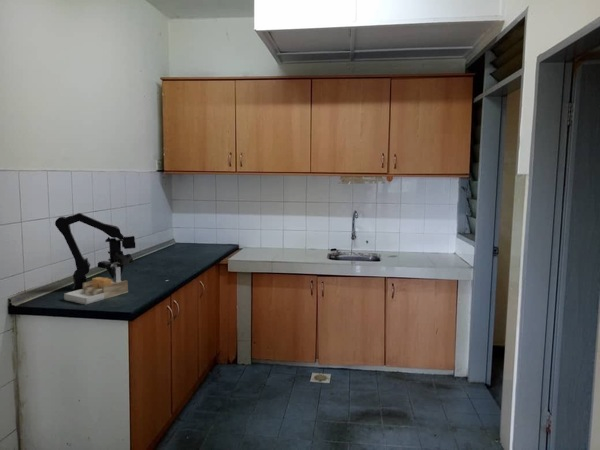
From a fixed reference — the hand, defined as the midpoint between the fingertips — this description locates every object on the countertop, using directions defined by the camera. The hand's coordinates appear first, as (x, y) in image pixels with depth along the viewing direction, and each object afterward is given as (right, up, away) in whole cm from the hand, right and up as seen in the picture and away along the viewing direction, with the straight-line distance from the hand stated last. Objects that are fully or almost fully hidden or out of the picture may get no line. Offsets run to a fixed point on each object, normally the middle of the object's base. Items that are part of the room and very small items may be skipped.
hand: (116, 277), depth 235 cm
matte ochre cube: (-2, -2, -17) cm, 17 cm away
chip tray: (-4, -7, -26) cm, 28 cm away
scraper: (0, -4, +1) cm, 4 cm away
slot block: (+1, -6, -16) cm, 17 cm away
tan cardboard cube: (+3, -3, -19) cm, 20 cm away
